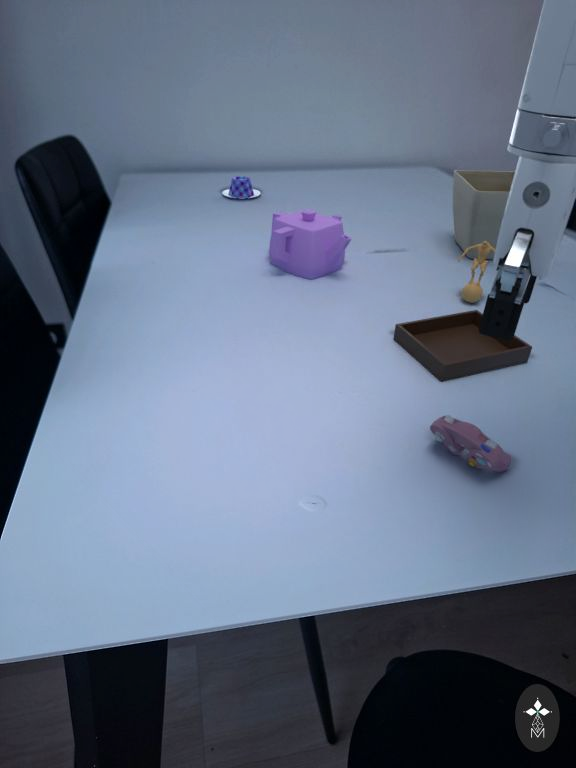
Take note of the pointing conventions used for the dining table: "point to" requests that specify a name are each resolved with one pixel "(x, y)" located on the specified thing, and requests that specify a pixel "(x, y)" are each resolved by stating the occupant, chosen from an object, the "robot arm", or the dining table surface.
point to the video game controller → (470, 444)
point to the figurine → (474, 290)
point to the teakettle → (307, 243)
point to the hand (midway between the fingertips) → (504, 316)
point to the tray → (458, 346)
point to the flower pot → (479, 207)
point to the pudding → (241, 188)
